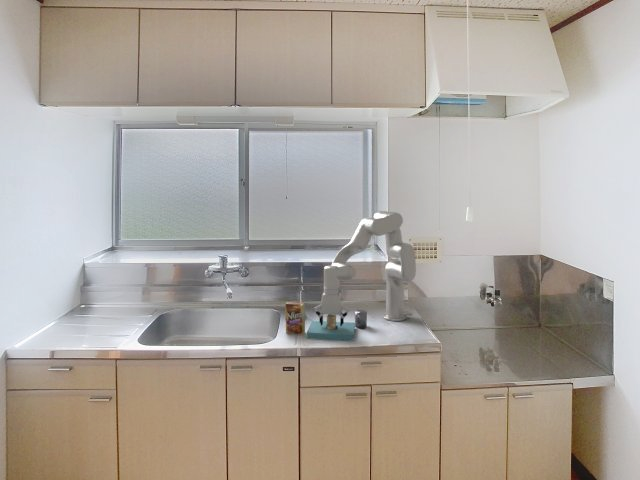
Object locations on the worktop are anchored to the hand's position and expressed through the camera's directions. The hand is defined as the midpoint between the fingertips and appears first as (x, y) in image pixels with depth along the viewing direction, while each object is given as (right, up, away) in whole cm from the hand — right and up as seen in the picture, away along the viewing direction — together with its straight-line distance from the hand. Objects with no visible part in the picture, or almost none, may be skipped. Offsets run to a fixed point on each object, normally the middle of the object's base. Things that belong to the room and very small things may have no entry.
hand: (331, 324), depth 187 cm
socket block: (0, -4, +1) cm, 4 cm away
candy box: (-18, -4, +1) cm, 18 cm away
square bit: (0, -4, +1) cm, 4 cm away
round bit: (+15, -3, +10) cm, 18 cm away
